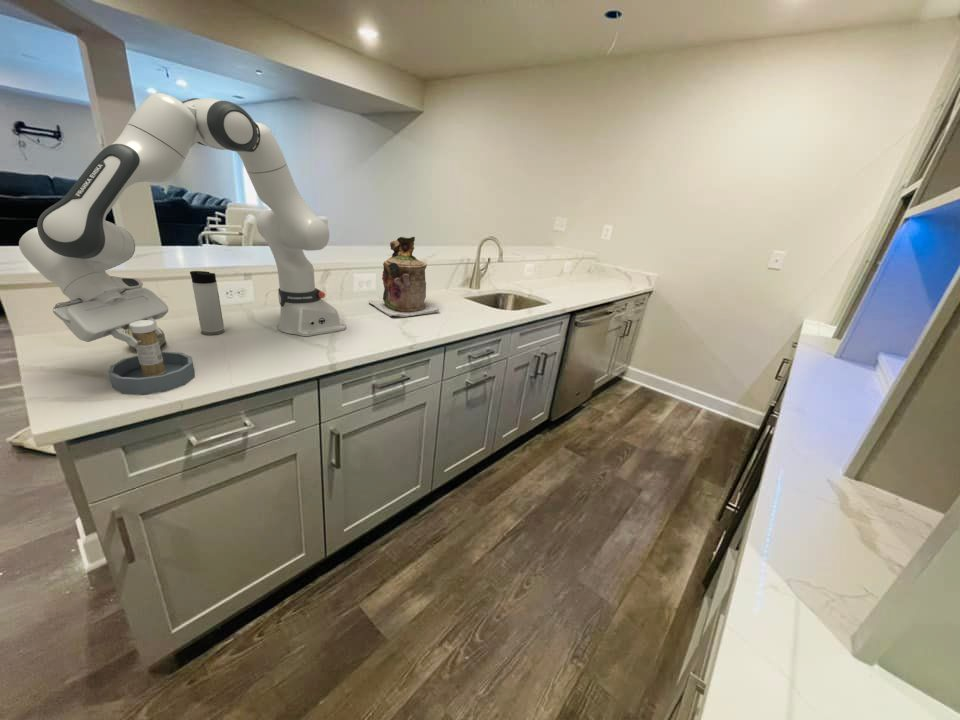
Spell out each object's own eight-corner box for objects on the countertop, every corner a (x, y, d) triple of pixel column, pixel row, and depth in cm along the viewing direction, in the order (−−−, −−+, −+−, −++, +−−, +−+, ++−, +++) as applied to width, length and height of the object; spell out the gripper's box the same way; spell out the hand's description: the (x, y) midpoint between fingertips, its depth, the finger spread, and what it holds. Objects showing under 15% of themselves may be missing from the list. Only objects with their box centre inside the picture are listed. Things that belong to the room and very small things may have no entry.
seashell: (145, 335, 115) (153, 308, 112) (173, 353, 116) (182, 328, 112) (109, 345, 106) (117, 316, 102) (140, 365, 106) (149, 337, 103)
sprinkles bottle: (151, 369, 96) (138, 318, 91) (171, 370, 96) (159, 320, 91) (137, 377, 92) (123, 324, 87) (157, 379, 92) (144, 326, 87)
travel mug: (195, 332, 123) (183, 270, 115) (214, 327, 128) (204, 267, 120) (210, 337, 121) (199, 274, 113) (229, 331, 127) (219, 271, 119)
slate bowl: (194, 362, 105) (191, 348, 103) (195, 387, 93) (192, 372, 92) (117, 371, 96) (113, 356, 95) (108, 399, 85) (103, 384, 83)
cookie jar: (413, 299, 189) (416, 231, 176) (441, 313, 172) (447, 240, 159) (366, 303, 173) (365, 229, 161) (392, 319, 157) (394, 239, 144)
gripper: (53, 296, 77) (112, 348, 80) (144, 277, 95) (189, 320, 99) (39, 315, 79) (98, 364, 82) (132, 292, 97) (176, 333, 101)
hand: (148, 340), depth 91 cm, fingers closed on sprinkles bottle, 4 cm apart
